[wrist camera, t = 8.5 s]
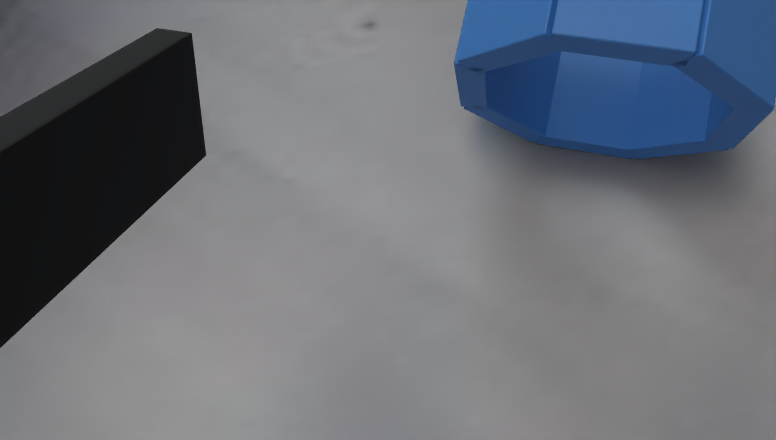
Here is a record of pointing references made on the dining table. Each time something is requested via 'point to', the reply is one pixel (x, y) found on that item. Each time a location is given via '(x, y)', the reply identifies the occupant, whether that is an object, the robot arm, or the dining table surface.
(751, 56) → the tape
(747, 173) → the dining table surface
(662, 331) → the dining table surface
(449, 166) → the dining table surface
